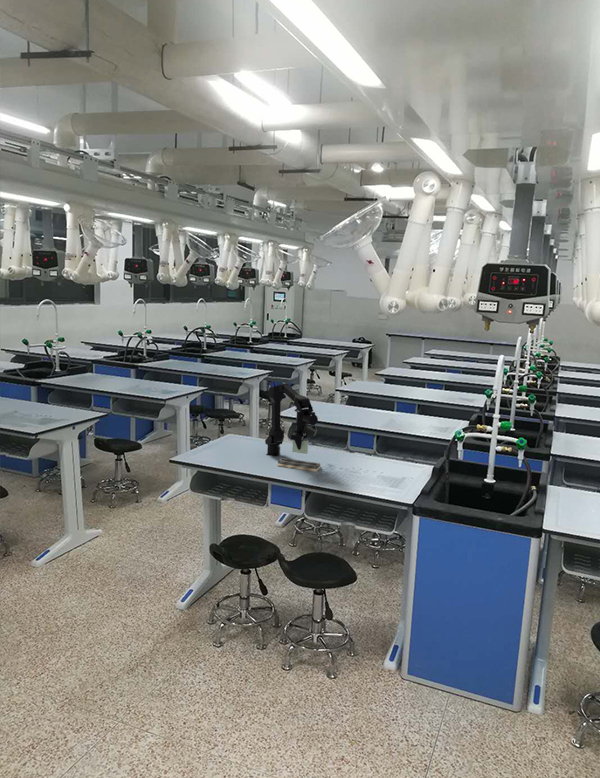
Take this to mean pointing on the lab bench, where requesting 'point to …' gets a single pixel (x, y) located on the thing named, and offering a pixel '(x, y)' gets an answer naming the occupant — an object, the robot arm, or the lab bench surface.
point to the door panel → (303, 447)
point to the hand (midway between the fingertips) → (299, 449)
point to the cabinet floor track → (299, 464)
